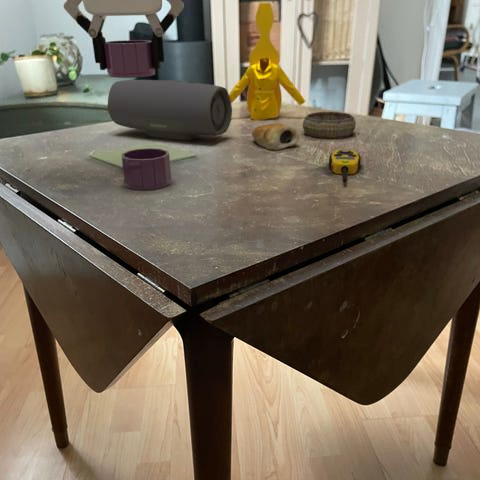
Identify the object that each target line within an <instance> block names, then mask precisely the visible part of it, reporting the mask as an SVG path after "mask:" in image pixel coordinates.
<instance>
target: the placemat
mask: <svg viewBox="0 0 480 480" xmlns="http://www.w3.org/2000/svg"><path fill="white" fill-rule="evenodd" d="M145 148H155V149H163V150H166V151H168V152H169V157H170V163H173V162H178V161H182V160H187V159H190V158H196V157H197V154H195V153H192V152H188V151H184V150H181V149H177V148H174V147H170V146H167V145H164V144H159V143H156V142H153V141H152V142H147V143H142V144H137V145H132V146H127V147H122V148H116V149H111V150H107V151H106V150H105V151H101V152H97V153H92V154H88V157H89V158H92V159H94V160H98V161H100V162H103V163H105V164H109V165H111V166H114V167H116V168H119V169H123V164H122V156H121V154H123V153H125V152H127V151H130V150H135V149H145Z"/></svg>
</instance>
